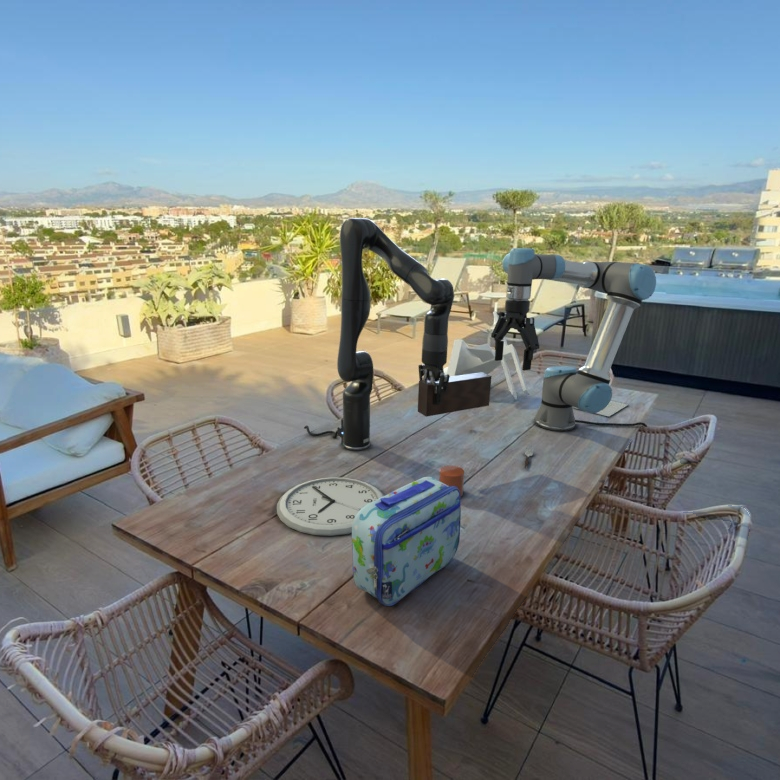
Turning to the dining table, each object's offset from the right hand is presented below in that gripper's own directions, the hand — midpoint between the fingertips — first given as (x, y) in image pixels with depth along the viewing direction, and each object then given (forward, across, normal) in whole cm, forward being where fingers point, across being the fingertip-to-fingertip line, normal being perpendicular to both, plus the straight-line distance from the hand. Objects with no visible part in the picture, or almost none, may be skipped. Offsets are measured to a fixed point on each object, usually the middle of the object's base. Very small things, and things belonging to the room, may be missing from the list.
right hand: (512, 365), depth 170 cm
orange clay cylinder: (+31, +16, -33) cm, 48 cm away
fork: (+31, +9, +2) cm, 32 cm away
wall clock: (+31, +7, -66) cm, 73 cm away
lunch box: (+31, +44, -63) cm, 83 cm away
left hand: (+9, -1, -30) cm, 31 cm away
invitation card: (+31, -19, +69) cm, 78 cm away
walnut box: (+12, -2, -21) cm, 24 cm away
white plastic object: (+31, -58, +34) cm, 74 cm away
